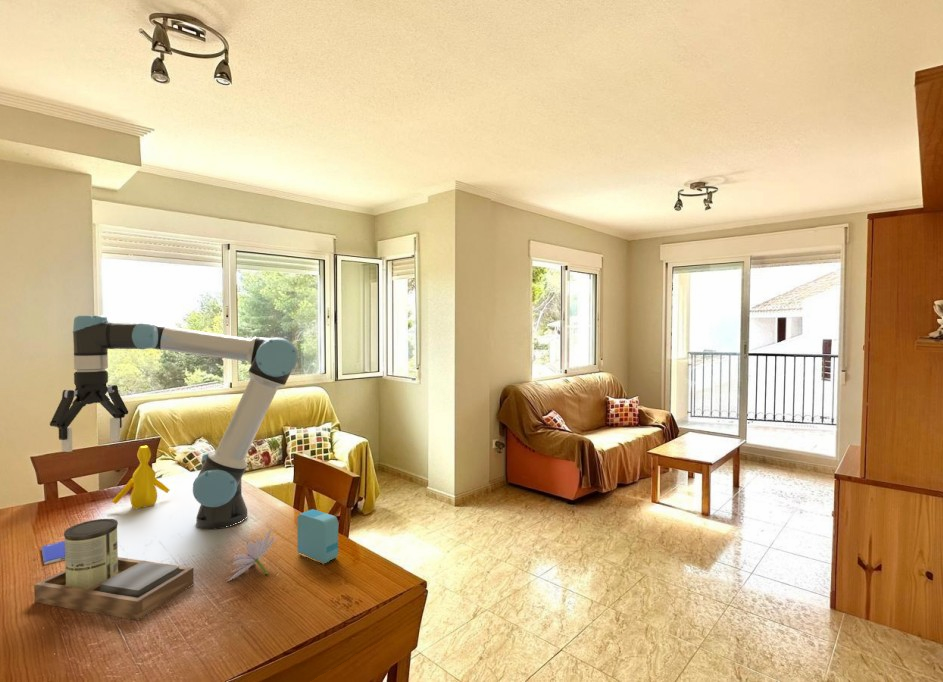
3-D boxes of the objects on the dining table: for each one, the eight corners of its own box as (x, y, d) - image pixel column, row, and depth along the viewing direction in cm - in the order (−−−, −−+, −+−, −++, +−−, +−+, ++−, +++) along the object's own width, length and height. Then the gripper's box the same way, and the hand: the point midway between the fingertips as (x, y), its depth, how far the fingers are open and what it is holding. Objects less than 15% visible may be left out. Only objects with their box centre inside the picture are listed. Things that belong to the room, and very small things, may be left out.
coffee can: (62, 583, 118) (62, 526, 118) (114, 569, 125) (114, 515, 125) (67, 600, 111) (66, 539, 110) (122, 584, 118) (121, 526, 117)
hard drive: (41, 546, 139) (43, 561, 130) (78, 537, 145) (82, 551, 136) (41, 551, 139) (44, 567, 130) (78, 542, 145) (82, 557, 136)
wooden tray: (34, 602, 112) (34, 580, 112) (100, 569, 128) (100, 550, 127) (137, 620, 105) (137, 597, 105) (194, 583, 121) (194, 563, 121)
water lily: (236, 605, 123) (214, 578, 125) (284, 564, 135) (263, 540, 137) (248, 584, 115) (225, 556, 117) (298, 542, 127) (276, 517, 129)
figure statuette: (168, 497, 183) (167, 439, 182) (174, 502, 177) (173, 442, 177) (110, 510, 170) (109, 447, 169) (115, 516, 164) (114, 451, 164)
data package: (338, 559, 134) (338, 516, 133) (325, 566, 130) (325, 522, 130) (310, 548, 140) (310, 507, 140) (297, 554, 137) (296, 512, 136)
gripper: (122, 366, 149) (122, 435, 149) (31, 373, 125) (32, 455, 125) (141, 367, 147) (142, 436, 148) (53, 374, 123) (55, 457, 123)
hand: (92, 445), depth 136 cm, fingers open, 13 cm apart
